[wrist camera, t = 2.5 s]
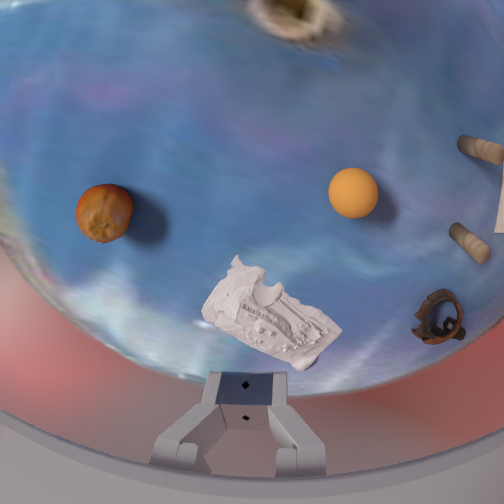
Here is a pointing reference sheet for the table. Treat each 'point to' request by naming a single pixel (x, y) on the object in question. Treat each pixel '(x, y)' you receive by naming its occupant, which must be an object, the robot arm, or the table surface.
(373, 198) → the ball
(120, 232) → the fruit
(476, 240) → the post
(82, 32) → the table surface
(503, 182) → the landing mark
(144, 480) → the robot arm
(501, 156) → the post
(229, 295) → the terrain model
